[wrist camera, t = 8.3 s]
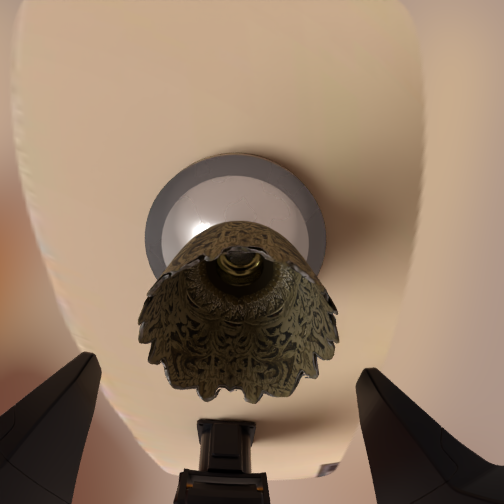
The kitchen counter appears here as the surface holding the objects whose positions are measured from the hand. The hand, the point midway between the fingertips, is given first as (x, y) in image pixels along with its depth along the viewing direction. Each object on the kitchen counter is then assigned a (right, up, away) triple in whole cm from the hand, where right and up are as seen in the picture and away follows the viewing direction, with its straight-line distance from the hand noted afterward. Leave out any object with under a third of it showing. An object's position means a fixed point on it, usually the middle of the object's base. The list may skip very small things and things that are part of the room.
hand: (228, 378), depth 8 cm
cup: (0, +4, +9) cm, 10 cm away
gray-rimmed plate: (0, +5, +10) cm, 11 cm away
